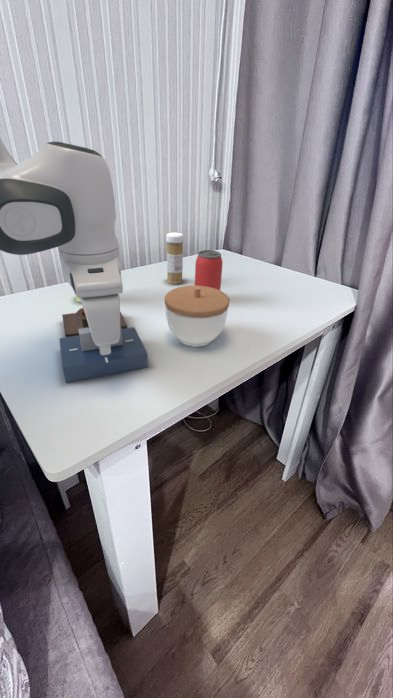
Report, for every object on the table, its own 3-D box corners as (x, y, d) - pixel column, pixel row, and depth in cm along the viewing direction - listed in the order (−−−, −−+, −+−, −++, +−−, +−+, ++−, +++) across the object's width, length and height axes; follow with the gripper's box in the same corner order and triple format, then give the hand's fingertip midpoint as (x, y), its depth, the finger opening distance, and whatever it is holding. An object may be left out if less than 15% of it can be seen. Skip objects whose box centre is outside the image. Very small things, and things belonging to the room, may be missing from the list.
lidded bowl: (201, 318, 77) (203, 272, 71) (237, 342, 68) (244, 292, 62) (153, 333, 70) (152, 283, 64) (188, 361, 62) (189, 307, 56)
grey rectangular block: (82, 351, 58) (79, 333, 56) (81, 345, 59) (78, 327, 57) (122, 344, 60) (121, 326, 58) (120, 339, 62) (118, 321, 59)
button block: (66, 344, 65) (63, 326, 63) (63, 323, 72) (60, 306, 70) (127, 334, 69) (126, 317, 67) (119, 316, 76) (117, 300, 74)
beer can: (223, 303, 84) (228, 256, 78) (199, 306, 82) (202, 258, 75) (213, 293, 89) (216, 248, 83) (190, 296, 87) (191, 250, 81)
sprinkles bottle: (180, 278, 97) (181, 231, 90) (184, 284, 94) (185, 235, 86) (165, 279, 96) (164, 231, 89) (168, 285, 93) (167, 236, 85)
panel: (66, 385, 55) (62, 369, 53) (62, 350, 63) (59, 335, 61) (148, 369, 59) (148, 354, 58) (134, 338, 68) (133, 324, 66)
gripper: (65, 248, 59) (77, 317, 66) (76, 292, 43) (90, 377, 50) (102, 245, 61) (109, 313, 68) (125, 286, 45) (131, 369, 52)
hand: (101, 341), depth 59 cm, fingers open, 7 cm apart
